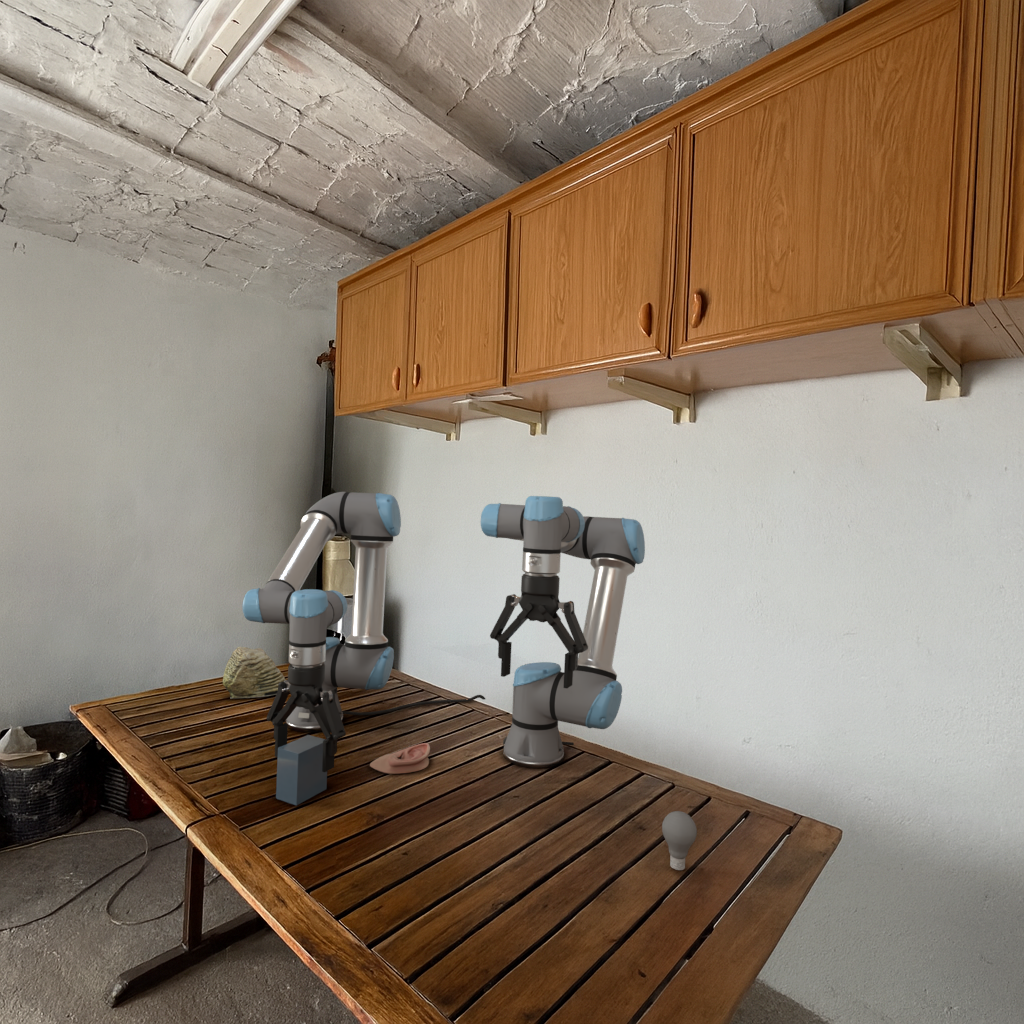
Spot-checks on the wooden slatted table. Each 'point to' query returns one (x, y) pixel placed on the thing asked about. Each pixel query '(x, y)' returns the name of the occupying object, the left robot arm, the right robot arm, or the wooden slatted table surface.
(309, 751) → the brick
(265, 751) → the wooden slatted table surface
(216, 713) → the wooden slatted table surface
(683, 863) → the light bulb
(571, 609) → the right robot arm
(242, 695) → the fossil
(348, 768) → the wooden slatted table surface
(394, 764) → the anatomical model
